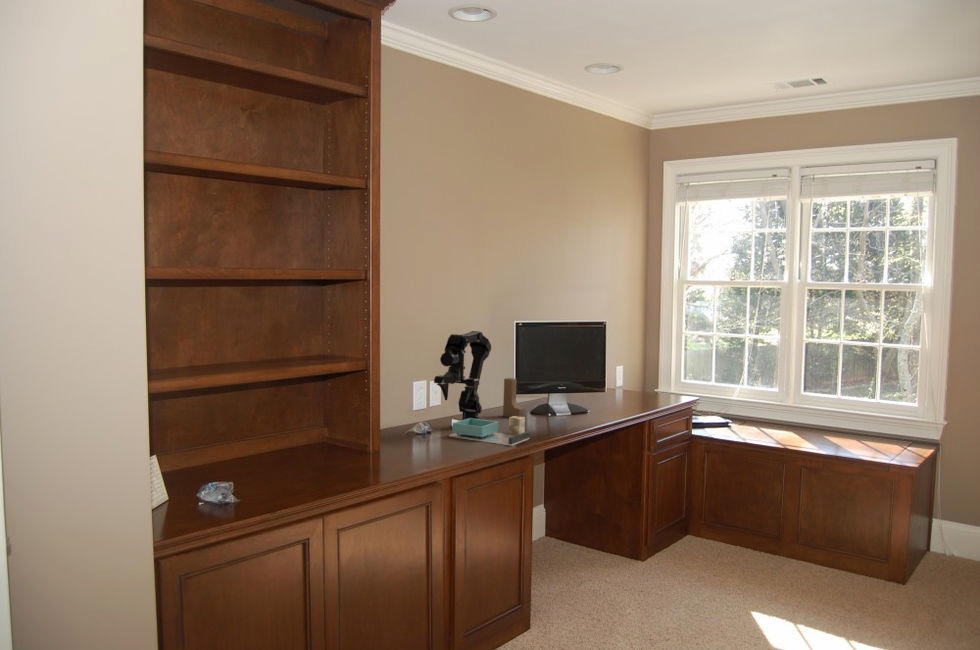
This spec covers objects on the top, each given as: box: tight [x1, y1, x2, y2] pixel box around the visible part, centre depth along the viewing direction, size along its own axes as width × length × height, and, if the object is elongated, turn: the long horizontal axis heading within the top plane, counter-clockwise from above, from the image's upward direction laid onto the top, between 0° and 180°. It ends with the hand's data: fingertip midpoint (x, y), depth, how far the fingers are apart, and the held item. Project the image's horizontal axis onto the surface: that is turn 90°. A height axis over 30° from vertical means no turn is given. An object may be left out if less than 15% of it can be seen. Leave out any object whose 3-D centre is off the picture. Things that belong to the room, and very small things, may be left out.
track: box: [448, 431, 531, 447], centre depth 312 cm, size 29×16×3 cm, turn 61°
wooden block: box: [502, 377, 525, 418], centre depth 360 cm, size 9×4×18 cm, turn 56°
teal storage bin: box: [451, 418, 500, 437], centre depth 315 cm, size 14×14×5 cm
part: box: [508, 416, 526, 435], centre depth 321 cm, size 5×5×7 cm
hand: (455, 401), depth 320 cm, fingers open, 9 cm apart
